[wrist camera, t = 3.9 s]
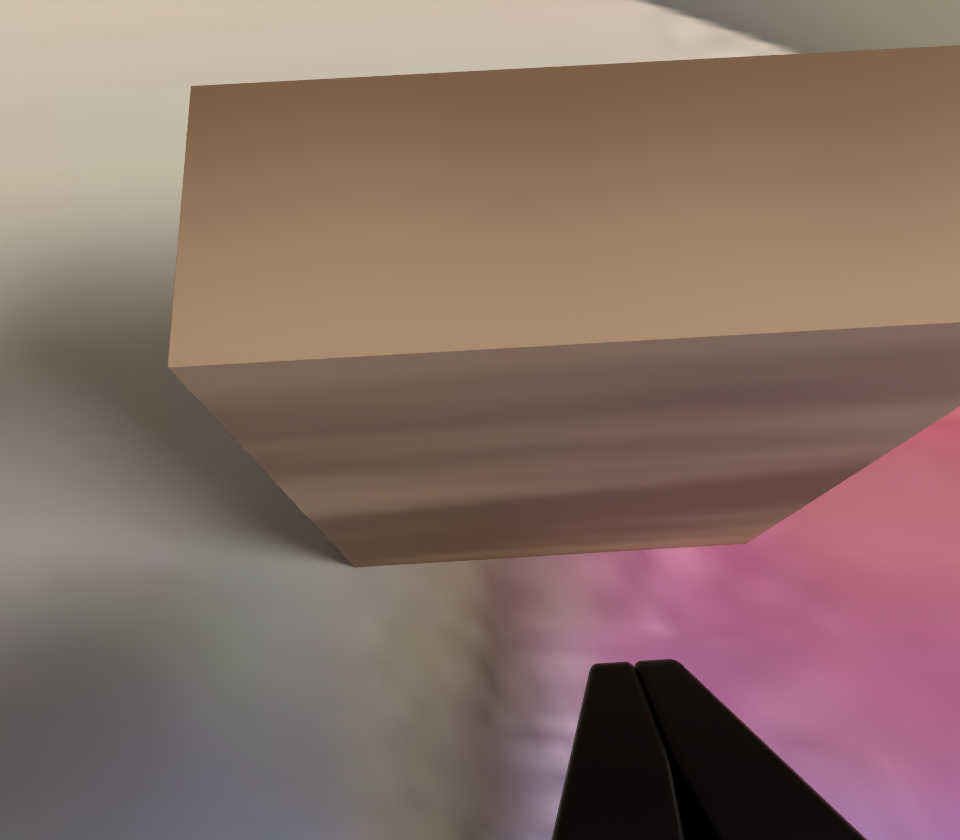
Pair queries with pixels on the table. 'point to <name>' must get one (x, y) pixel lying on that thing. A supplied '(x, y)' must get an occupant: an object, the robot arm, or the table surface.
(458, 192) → the brown block
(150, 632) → the table surface
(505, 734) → the table surface
